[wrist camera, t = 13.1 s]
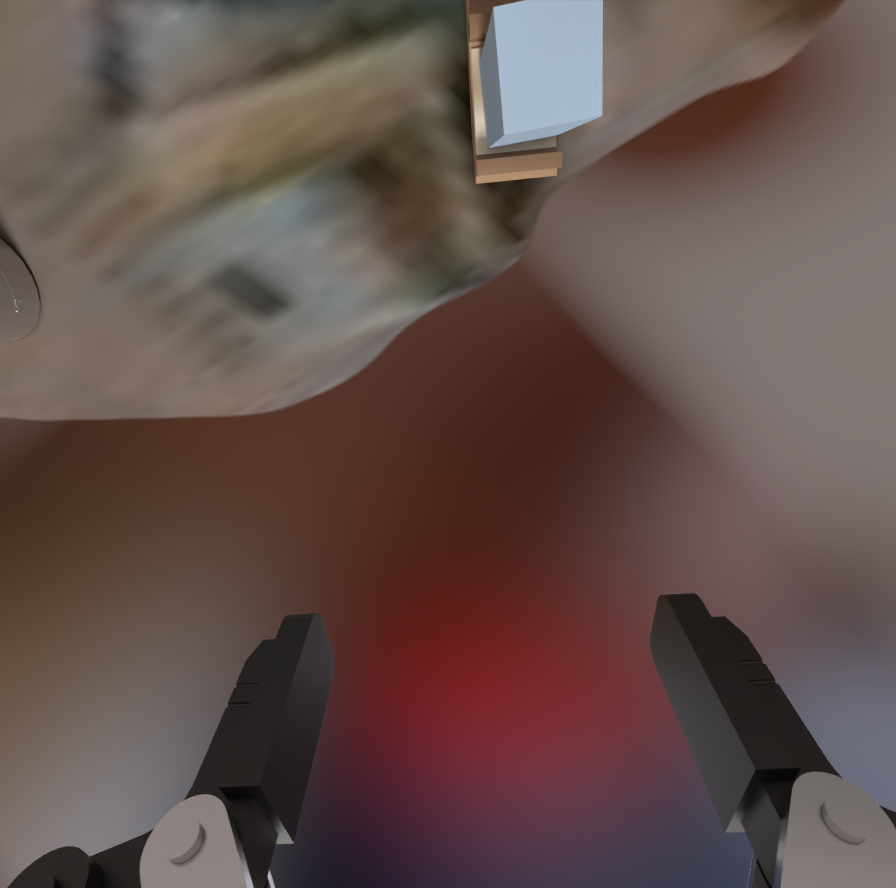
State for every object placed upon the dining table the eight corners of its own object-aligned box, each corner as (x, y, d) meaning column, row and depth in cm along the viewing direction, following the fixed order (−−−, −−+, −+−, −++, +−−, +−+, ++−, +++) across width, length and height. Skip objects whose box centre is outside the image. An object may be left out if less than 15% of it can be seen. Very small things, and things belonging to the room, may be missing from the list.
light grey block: (487, 149, 28) (504, 135, 19) (478, 58, 26) (492, -4, 17) (554, 136, 27) (602, 115, 19) (550, 43, 25) (602, -29, 16)
